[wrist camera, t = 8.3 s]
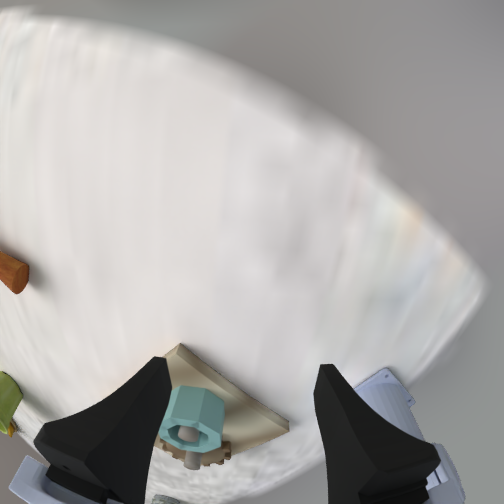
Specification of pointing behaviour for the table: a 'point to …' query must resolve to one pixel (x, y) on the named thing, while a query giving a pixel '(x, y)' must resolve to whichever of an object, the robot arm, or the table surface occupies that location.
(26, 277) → the kendama
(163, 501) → the camera lens
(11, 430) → the toy sandwich meal
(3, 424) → the plant pot
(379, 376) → the robot arm
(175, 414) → the teal faceted ring
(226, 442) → the gear board
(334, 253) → the table surface
